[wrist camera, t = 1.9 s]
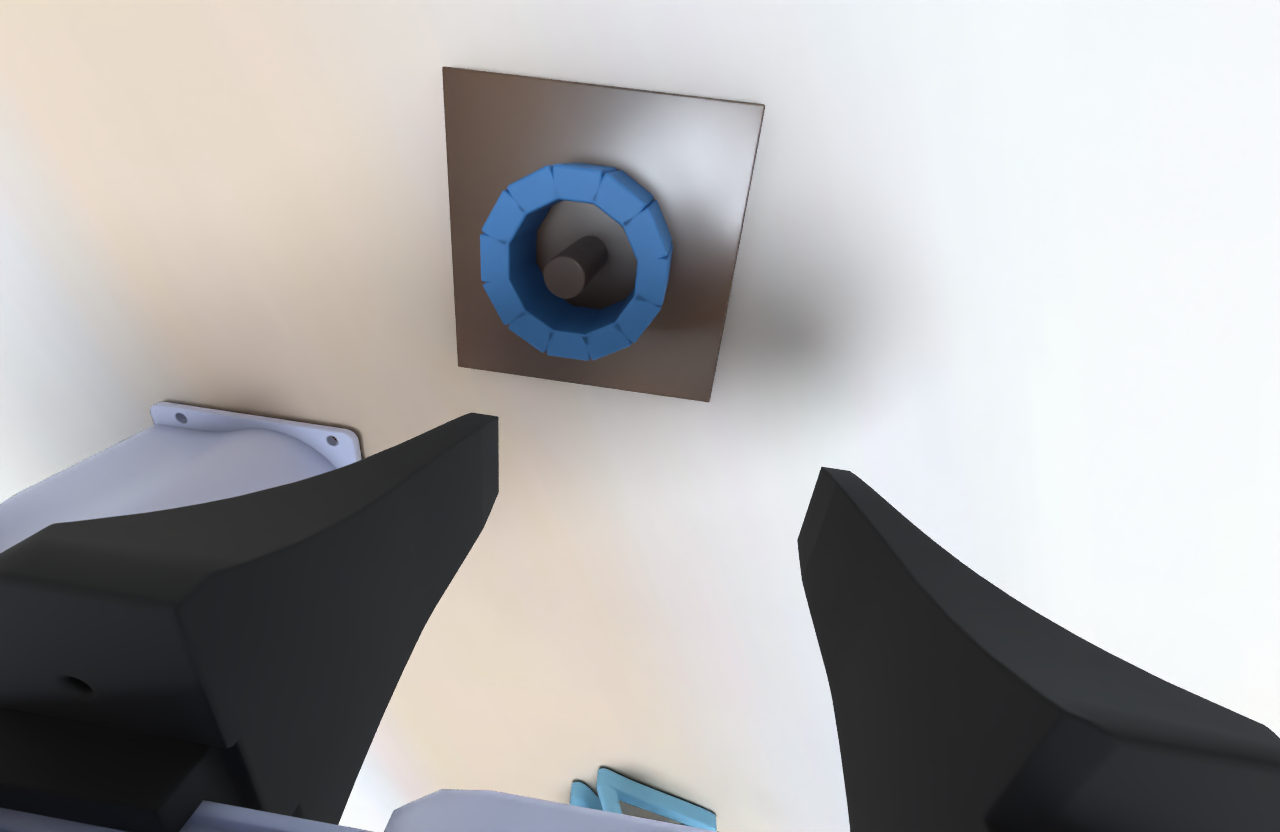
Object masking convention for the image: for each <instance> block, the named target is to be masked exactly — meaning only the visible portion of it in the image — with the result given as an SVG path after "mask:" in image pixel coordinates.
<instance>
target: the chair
mask: <svg viewBox="0 0 1280 832" xmlns="http://www.w3.org/2000/svg"><path fill="white" fill-rule="evenodd" d="M597 792H598V795H599V798H600V799H599V798H598V797H597V796H596V794H595V793H594V792H593V791H592V790H591V789H590V788H588V787H587V786H586V785H584V784H583V783H580V782H573V783H572V787H571V796H570V805H574V806H579V807H585V808H590V809H596V810H601V811H607V812H613V813H618V814H622V811H621V808H620V804H619V801H618V800H620V801H622V802H625V803H628V804H631V805H633V806H636V807H639V808H642V809H644V810H647V811H650V812H653V813H656V814H658V815H661V816H664V817H667V818H670V819H672V820H675V821H678V822H681V823H683V824H686V825H684V826H690V827H695V828H701V829H707V830H712V831H716V830H717V829H716V816H715V814H713V813H711V812H710V811H707V810H705V809H703V808H701V807H698V806H696V805H693V804H690V803H688V802H685V801H683V800H680V799H678V798H675V797H673V796H670V795H667V794H665V793H662V792H660V791H657V790H655V789H652V788H649V787H647V786H644V785H642V784H640V783H637V782H635V781H632V780H630V779H628V778H625V777H623V776H621V775H619V774H617V773H615V772H613V771H611V770H608V769H605V768H601V769H599V770H598V776H597Z"/></svg>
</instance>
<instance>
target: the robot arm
mask: <svg viewBox="0 0 1280 832" xmlns="http://www.w3.org/2000/svg"><path fill="white" fill-rule="evenodd" d="M150 413H151V416H152V419H153V422H154V426H152V427H150V428H148V429H146V430H144V431H141V432H139V433H137V434H135V435H133V436H131V437H129V438H127V439H125V440H123V441H121V442H119V443H117V444H115V445H113V446H111V447H109V448H107V449H105V450H103V451H101V452H99V453H97V454H95V455H93V456H91V457H89V458H87V459H85V460H83V461H81V462H79V463H77V464H75V465H73V466H71V467H69V468H67V469H65V470H63V471H61V472H59V473H57V474H55V475H53V476H51V477H49V478H47V479H45V480H43V481H41V482H39V483H37V484H35V485H33V486H31V487H29V488H27V489H25V490H23V491H21V492H19V493H17V494H15V495H14V496H12V497H10V498H9V499H7V500H5V501H4V502H3V503H1V504H0V832H372V831H367V830H361V829H356V828H351V827H345V826H340V825H338V824H339V821H340V819H341V816H342V814H343V811H344V809H345V806H346V804H347V801H348V798H349V796H350V793H351V791H352V788H353V786H354V783H355V781H356V778H357V776H358V773H359V771H360V769H361V766H362V764H363V762H364V759H365V757H366V755H367V752H368V750H369V747H370V745H371V743H372V740H373V738H374V736H375V733H376V731H377V728H378V726H379V724H380V721H381V719H382V717H383V715H384V712H385V710H386V708H387V706H388V703H389V701H390V699H391V697H392V695H393V692H394V690H395V688H396V686H397V683H398V681H399V679H400V677H401V675H402V672H403V670H404V668H405V666H406V664H407V662H408V660H409V658H410V655H411V653H412V651H413V649H414V647H415V645H416V643H417V641H418V639H419V637H420V634H421V632H422V630H423V628H424V626H425V625H426V623H427V621H428V619H429V617H430V616H431V614H432V612H433V610H434V608H435V607H436V605H437V603H438V602H439V600H440V599H441V597H442V595H443V594H444V592H445V590H446V589H447V587H448V586H449V584H450V582H451V581H452V579H453V577H454V576H455V574H456V573H457V571H458V569H459V568H460V566H461V564H462V563H463V561H464V560H465V558H466V556H467V555H468V553H469V551H470V550H471V548H472V546H473V545H474V543H475V541H476V540H477V538H478V536H479V535H480V533H481V531H482V530H483V528H484V525H485V523H486V521H487V519H488V516H489V514H490V512H491V509H492V507H493V505H494V502H495V500H496V497H497V495H498V492H499V463H498V417H497V416H491V415H484V414H478V413H469V414H466V415H463V416H461V417H458V418H456V419H454V420H452V421H449V422H447V423H445V424H443V425H441V426H438V427H436V428H434V429H432V430H430V431H428V432H425V433H423V434H421V435H419V436H417V437H414V438H412V439H410V440H408V441H406V442H403V443H401V444H399V445H397V446H394V447H392V448H389V449H387V450H384V451H382V452H379V453H377V454H374V455H372V456H370V457H367V458H365V459H362V458H361V452H360V446H359V440H358V437H357V436H356V434H355V433H354V432H352V431H351V430H348V429H343V428H336V427H330V426H323V425H316V424H310V423H303V422H296V421H290V420H283V419H276V418H269V417H263V416H256V415H249V414H243V413H236V412H229V411H222V410H216V409H209V408H202V407H196V406H189V405H182V404H175V403H169V402H159V403H157V404H154V405H153V406H151V408H150ZM185 416H186V417H185ZM332 436H334V437H335V438H336V439H337V440H338V441H336V440H334V439H333V437H332ZM798 550H799V560H800V568H801V576H802V582H803V586H804V590H805V594H806V598H807V602H808V606H809V609H810V613H811V617H812V621H813V624H814V628H815V632H816V636H817V639H818V643H819V647H820V650H821V654H822V658H823V662H824V665H825V669H826V673H827V677H828V681H829V686H830V690H831V695H832V700H833V706H834V713H835V719H836V725H837V732H838V738H839V745H840V752H841V759H842V767H843V774H844V781H845V789H846V796H847V804H848V813H849V823H850V832H1280V738H1279V737H1278V736H1277V735H1276V734H1275V733H1274V732H1272V731H1271V730H1270V729H1269V728H1268V727H1266V726H1265V725H1263V724H1260V723H1258V722H1256V721H1254V720H1251V719H1249V718H1247V717H1245V716H1242V715H1240V714H1238V713H1236V712H1233V711H1231V710H1229V709H1227V708H1225V707H1222V706H1220V705H1218V704H1216V703H1213V702H1211V701H1209V700H1207V699H1204V698H1202V697H1200V696H1198V695H1195V694H1193V693H1191V692H1189V691H1186V690H1184V689H1182V688H1180V687H1177V686H1175V685H1173V684H1171V683H1169V682H1166V681H1164V680H1162V679H1160V678H1158V677H1156V676H1154V675H1152V674H1150V673H1148V672H1146V671H1144V670H1142V669H1140V668H1138V667H1136V666H1134V665H1132V664H1130V663H1128V662H1126V661H1124V660H1122V659H1120V658H1118V657H1116V656H1114V655H1112V654H1110V653H1108V652H1106V651H1104V650H1103V649H1101V648H1099V647H1097V646H1095V645H1093V644H1091V643H1090V642H1088V641H1086V640H1084V639H1082V638H1080V637H1078V636H1077V635H1075V634H1073V633H1071V632H1070V631H1068V630H1066V629H1064V628H1063V627H1061V626H1059V625H1057V624H1056V623H1054V622H1052V621H1051V620H1049V619H1047V618H1045V617H1044V616H1042V615H1040V614H1039V613H1037V612H1035V611H1033V610H1032V609H1030V608H1029V607H1027V606H1025V605H1024V604H1022V603H1021V602H1019V601H1017V600H1016V599H1014V598H1013V597H1011V596H1009V595H1008V594H1007V593H1005V592H1004V591H1002V590H1001V589H999V588H998V587H996V586H995V585H993V584H992V583H990V582H989V581H987V580H986V579H984V578H983V577H981V576H980V575H978V574H977V573H975V572H974V571H973V570H971V569H970V568H968V567H967V566H966V565H964V564H963V563H962V562H960V561H959V560H958V559H956V558H955V557H954V556H952V555H951V554H950V553H949V552H947V551H946V550H945V549H943V548H942V547H941V546H939V545H938V544H937V543H936V542H934V541H933V540H932V539H931V538H929V537H928V536H927V535H926V534H924V533H923V532H922V531H921V530H920V529H918V528H917V527H916V526H915V525H914V524H912V523H911V522H910V521H909V520H908V519H907V518H905V517H904V516H903V515H902V514H901V513H900V512H898V511H897V510H896V509H895V508H894V507H893V506H892V505H890V504H889V503H888V502H887V501H886V500H885V499H884V498H882V497H881V496H880V495H879V494H878V493H877V492H875V491H874V490H873V489H872V488H871V487H870V486H868V485H867V484H866V483H865V482H864V481H862V480H861V479H860V478H859V477H857V476H856V475H855V474H853V473H852V472H850V471H846V470H839V469H833V468H826V467H821V470H820V473H819V476H818V479H817V482H816V485H815V488H814V491H813V495H812V498H811V501H810V504H809V507H808V510H807V513H806V516H805V519H804V522H803V525H802V528H801V531H800V534H799V537H798ZM384 832H718V831H712V830H707V829H701V828H695V827H690V826H684V825H679V824H673V823H668V822H662V821H657V820H651V819H646V818H640V817H635V816H629V815H624V814H618V813H613V812H607V811H601V810H596V809H590V808H585V807H579V806H574V805H568V804H563V803H557V802H552V801H546V800H541V799H535V798H530V797H524V796H519V795H513V794H507V793H502V792H496V791H488V790H452V789H441V790H439V791H437V792H434V793H432V794H429V795H427V796H425V797H422V798H420V799H417V800H415V801H412V802H410V803H408V804H406V805H404V806H402V807H400V808H398V809H396V810H394V811H393V813H392V815H391V818H390V820H389V822H388V824H387V826H386V828H385V830H384Z"/></svg>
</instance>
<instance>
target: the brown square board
mask: <svg viewBox="0 0 1280 832" xmlns="http://www.w3.org/2000/svg"><path fill="white" fill-rule="evenodd" d="M442 71H443V90H444V109H445V128H446V147H447V165H448V184H449V203H450V222H451V241H452V260H453V279H454V298H455V316H456V335H457V354H458V366H459V367H465V368H472V369H479V370H486V371H493V372H500V373H507V374H514V375H521V376H528V377H535V378H542V379H549V380H556V381H563V382H570V383H577V384H584V385H591V386H598V387H605V388H612V389H619V390H626V391H633V392H640V393H647V394H655V395H662V396H669V397H676V398H683V399H690V400H697V401H704V402H709V401H710V397H711V391H712V386H713V381H714V376H715V370H716V365H717V360H718V354H719V349H720V344H721V338H722V333H723V328H724V322H725V317H726V312H727V307H728V301H729V296H730V291H731V285H732V280H733V275H734V269H735V264H736V259H737V253H738V248H739V243H740V238H741V232H742V227H743V222H744V216H745V211H746V206H747V200H748V195H749V190H750V184H751V179H752V174H753V169H754V163H755V158H756V153H757V147H758V142H759V137H760V131H761V126H762V121H763V115H764V110H765V105H764V104H757V103H748V102H740V101H731V100H723V99H714V98H706V97H697V96H689V95H680V94H672V93H663V92H655V91H647V90H638V89H630V88H621V87H613V86H604V85H596V84H587V83H579V82H570V81H562V80H553V79H545V78H536V77H528V76H520V75H511V74H503V73H494V72H486V71H477V70H469V69H460V68H452V67H443V68H442ZM562 163H585V164H593V165H601V166H609V167H615V168H616V169H617V171H618V170H622V171H624V172H625V173H626V174H627V175H629V176H630V177H631V178H632V179H633V180H635V181H636V182H637V183H638V184H640V185H641V186H642V187H643V188H645V189H646V190H647V191H648V192H649V193H651V194H652V195H653V197H654V198H653V200H652V201H654V200H657V201H658V204H659V206H660V209H661V211H662V214H663V216H664V219H665V222H666V224H667V227H668V229H669V232H670V234H671V237H672V242H671V243H672V244H673V249H672V257H671V264H670V272H669V279H668V285H667V289H666V293H665V297H664V301H663V304H662V306H661V309H660V311H659V313H658V314H657V315H656V316H655V318H654V319H653V320H652V322H651V323H650V324H649V325H648V327H647V328H646V329H645V331H644V332H643V333H642V334H641V336H640V337H639V338H638V340H637V341H636V342H635V343H632V344H631V346H629V347H627V348H624V349H622V350H619V351H616V352H614V353H611V354H609V355H606V356H604V357H601V358H598V359H596V360H592V359H591V357H590V359H589V361H585V360H578V359H571V358H564V357H556V356H549V355H547V350H546V352H544V353H543V352H541V351H539V350H538V349H536V348H535V347H534V346H532V345H531V344H529V343H528V342H527V341H525V340H524V339H522V338H521V337H519V336H518V335H517V334H515V333H514V332H512V331H511V330H509V328H508V326H509V324H507V325H504V324H503V322H502V320H501V318H500V316H499V315H498V313H497V311H496V309H495V307H494V305H493V304H492V302H491V300H490V298H489V296H488V295H487V293H486V291H485V289H484V287H483V284H484V283H486V282H483V281H482V280H481V257H480V234H483V233H484V232H483V231H482V227H483V225H484V224H485V222H486V220H487V218H488V216H489V214H490V213H491V211H492V209H493V207H494V205H495V204H496V202H497V200H498V198H499V196H500V194H501V193H502V191H503V190H506V189H507V186H508V185H509V184H511V183H513V182H515V181H517V180H519V179H521V178H523V177H525V176H527V175H529V174H531V173H533V172H535V171H537V170H539V169H540V168H542V167H544V166H546V165H554V164H562ZM536 262H537V264H538V266H539V268H540V270H541V272H542V274H543V276H544V281H545V284H546V286H547V288H548V289H549V290H550V291H551V292H552V293H553V294H554V295H556V296H558V297H560V298H563V299H564V300H565V301H567V302H568V303H570V304H571V305H572V306H578V307H586V308H593V309H600V310H601V309H603V308H605V307H608V306H610V305H613V304H615V303H617V302H620V301H622V300H625V299H626V298H627V297H628V296H629V294H630V293H631V292H632V290H633V289H634V287H635V279H636V269H637V259H636V257H635V255H634V252H633V250H632V247H631V245H630V243H629V240H628V238H627V236H626V233H625V231H624V229H623V227H622V226H621V225H620V224H618V223H617V222H616V221H615V220H613V219H612V218H611V217H610V216H608V215H607V214H606V213H604V212H603V211H602V210H601V209H599V208H598V207H597V206H596V205H594V204H589V203H582V202H574V201H566V200H563V201H561V202H559V203H557V204H555V205H553V206H552V207H551V209H550V210H549V212H548V214H547V215H546V217H545V219H544V220H543V222H542V223H541V225H540V227H539V228H538V230H537V244H536Z"/></svg>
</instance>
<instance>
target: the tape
mask: <svg viewBox="0 0 1280 832" xmlns="http://www.w3.org/2000/svg"><path fill="white" fill-rule="evenodd" d="M653 198H654V197H653V195H652V194H651V193H649V192H648V191H647V190H646V189H645V188H643V187H642V186H641V185H640V184H638V183H637V182H636V181H635V180H633V179H632V178H631V177H630V176H629V175H627V174H626V173H625V172H624V171H622V170H618V171H617V169H616V168H615V167H609V166H601V165H593V164H585V163H562V164H554V165H546V166H544V167H542V168H540V169H539V170H537V171H535V172H533V173H531V174H529V175H527V176H525V177H523V178H521V179H519V180H517V181H515V182H513V183H511V184H509V185H508V186H507V189H506V190H503V191H502V193H501V194H500V196H499V198H498V200H497V202H496V204H495V205H494V207H493V209H492V211H491V213H490V214H489V216H488V218H487V220H486V222H485V224H484V225H483V227H482V231H483V232H484V233H483V234H480V257H481V280H482V281H483V282H486V283H484V284H483V287H484V289H485V291H486V293H487V295H488V296H489V298H490V300H491V302H492V304H493V305H494V307H495V309H496V311H497V313H498V315H499V316H500V318H501V320H502V322H503V324H504V325H507V324H509V326H508V328H509V330H511V331H512V332H514V333H515V334H517V335H518V336H519V337H521V338H522V339H524V340H525V341H527V342H528V343H529V344H531V345H532V346H534V347H535V348H536V349H538V350H539V351H541V352H543V353H544V352H546V350H547V355H549V356H556V357H564V358H571V359H578V360H585V361H589V359H590V357H591V359H592V360H596V359H598V358H601V357H604V356H606V355H609V354H611V353H614V352H616V351H619V350H622V349H624V348H627V347H629V346H631V344H632V343H635V342H636V341H637V340H638V338H639V337H640V336H641V334H642V333H643V332H644V331H645V329H646V328H647V327H648V325H649V324H650V323H651V322H652V320H653V319H654V318H655V316H656V315H657V314H658V313H659V311H660V309H661V306H662V304H663V301H664V297H665V293H666V289H667V285H668V279H669V272H670V264H671V257H672V249H673V244H672V243H671V242H672V237H671V234H670V232H669V229H668V227H667V224H666V222H665V219H664V216H663V214H662V211H661V209H660V206H659V204H658V201H657V200H654V201H652V200H653ZM563 200H566V201H574V202H582V203H589V204H594V205H596V206H597V207H598V208H599V209H601V210H602V211H603V212H604V213H606V214H607V215H608V216H610V217H611V218H612V219H613V220H615V221H616V222H617V223H618V224H620V225H621V226H622V227H623V229H624V231H625V233H626V236H627V238H628V240H629V243H630V245H631V247H632V250H633V252H634V255H635V257H636V259H637V269H636V279H635V287H634V289H633V290H632V292H631V293H630V294H629V296H628V297H627V298H626V299H625V300H622V301H620V302H617V303H615V304H613V305H610V306H608V307H605V308H603V309H601V310H600V309H593V308H586V307H578V306H572V305H571V304H570V303H568V302H567V301H565V300H564V299H563V298H560V297H558V296H556V295H554V294H553V293H552V292H551V291H550V290H549V289H548V288H547V286H546V284H545V281H544V276H543V274H542V272H541V270H540V268H539V266H538V264H537V262H536V244H537V230H538V228H539V227H540V225H541V223H542V222H543V220H544V219H545V217H546V215H547V214H548V212H549V210H550V209H551V207H552V206H553V205H555V204H557V203H559V202H561V201H563Z"/></svg>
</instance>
